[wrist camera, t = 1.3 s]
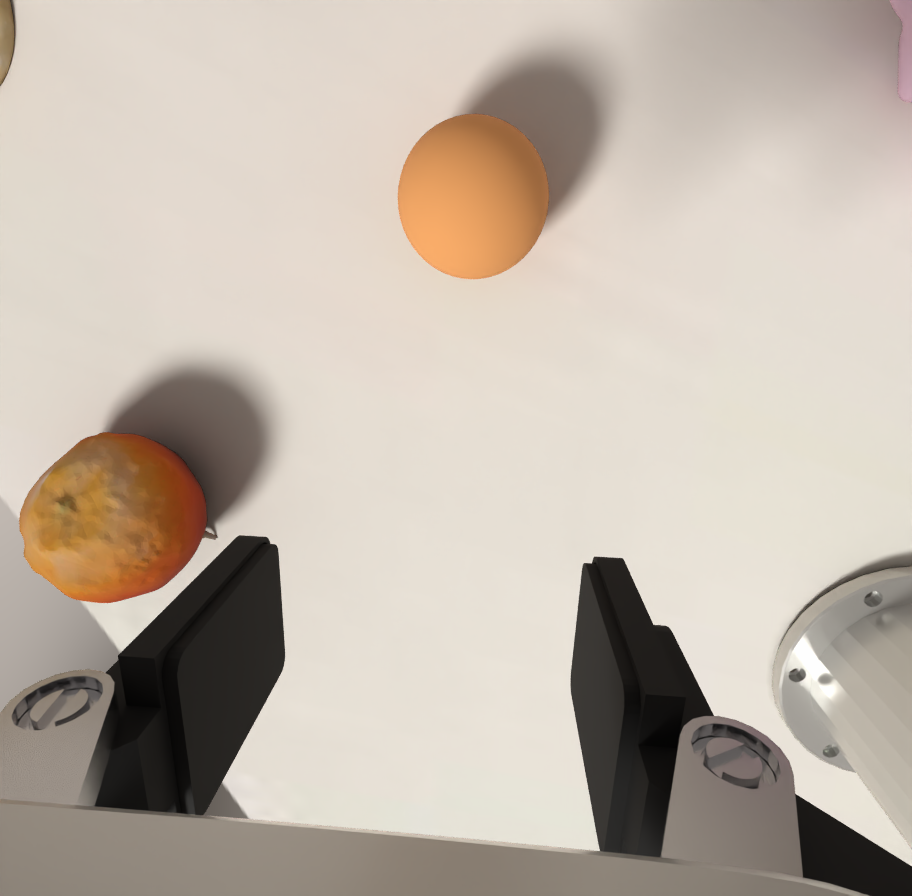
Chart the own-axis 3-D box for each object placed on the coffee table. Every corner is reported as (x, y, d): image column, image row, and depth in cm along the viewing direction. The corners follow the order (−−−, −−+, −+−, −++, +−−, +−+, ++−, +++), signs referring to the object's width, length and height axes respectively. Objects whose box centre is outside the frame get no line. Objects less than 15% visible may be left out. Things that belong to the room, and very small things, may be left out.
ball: (547, 136, 24) (563, 93, 19) (537, 281, 26) (549, 282, 20) (410, 134, 25) (384, 90, 19) (409, 276, 27) (385, 276, 21)
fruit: (129, 614, 31) (-16, 623, 24) (120, 478, 34) (-16, 448, 26) (260, 578, 30) (150, 576, 23) (241, 440, 32) (135, 397, 25)
